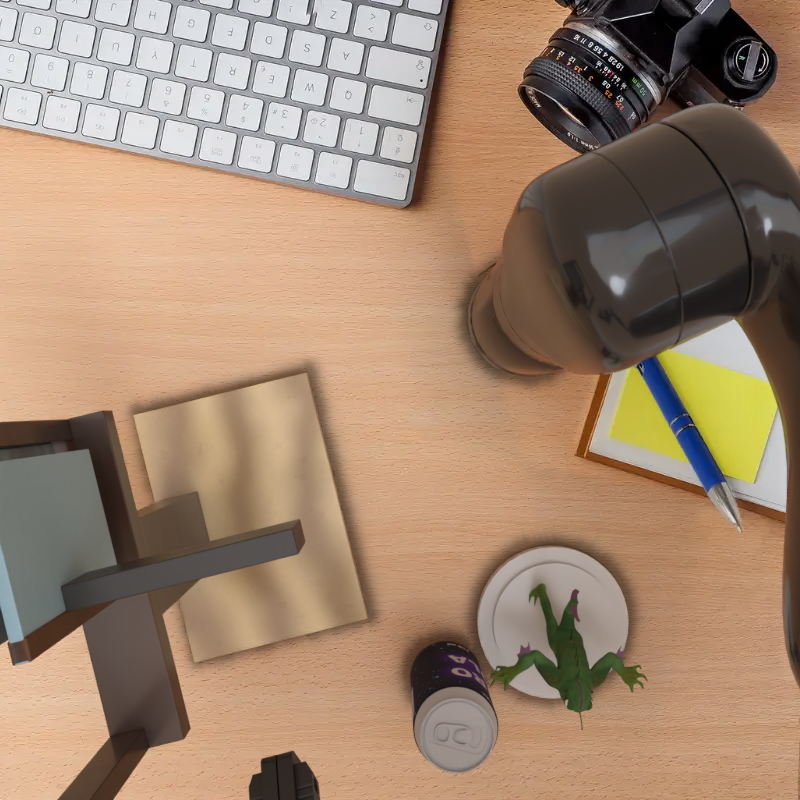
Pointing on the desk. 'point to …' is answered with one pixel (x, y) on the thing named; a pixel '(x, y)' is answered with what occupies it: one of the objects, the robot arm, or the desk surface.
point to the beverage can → (452, 708)
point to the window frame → (122, 602)
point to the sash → (91, 552)
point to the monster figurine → (555, 625)
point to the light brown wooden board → (257, 512)
